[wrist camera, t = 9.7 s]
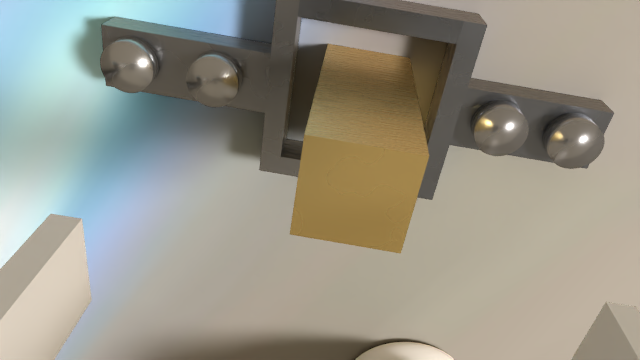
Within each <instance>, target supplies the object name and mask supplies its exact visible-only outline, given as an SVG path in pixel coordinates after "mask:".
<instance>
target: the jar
mask: <svg viewBox="0 0 640 360" xmlns="http://www.w3.org/2000/svg"><path fill="white" fill-rule="evenodd" d="M355 360H454V359H453V358H452V357H451V356H450V355H448V354H447V353H445V352H444V351H442V350H440V349H438V348H435V347H433V346H430V345H426V344H421V343H415V342H394V343H388V344H383V345H380V346H377V347H374V348H372V349H370V350H368V351H366V352H364V353H363V354H361V355H360V356H359V357H357V358H356V359H355Z"/></svg>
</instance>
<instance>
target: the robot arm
mask: <svg viewBox="0 0 640 360" xmlns="http://www.w3.org/2000/svg"><path fill="white" fill-rule="evenodd" d="M90 302H91V292H90V283H89V275H88V266H87V258H86V249H85V241H84V232H83V224H82V219H80V218H74V217H68V216H61V215H55V214H50V215H49V216H48V217H47V218H46V220H45V221H44V222H43V223H42V224H41V225H40V226H39V227H38V228H37V229H36V231H35V232H34V233H33V234H32V235H31V236H30V237H29V238H28V239H27V240H26V242H25V243H24V244H23V245H22V246H21V247H20V248H19V249H18V250H17V252H16V253H15V254H14V255H13V256H12V257H11V258H10V259H9V260H8V261H7V263H6V264H5V265H4V266H3V267H2V268H1V269H0V360H54V359H55V357H56V356H57V354H58V353H59V351H60V349H61V348H62V346H63V345H64V343H65V341H66V340H67V338H68V337H69V335H70V334H71V332H72V330H73V329H74V327H75V326H76V324H77V322H78V321H79V319H80V318H81V316H82V314H83V313H84V311H85V310H86V308H87V306H88V305H89V303H90ZM571 360H640V312H639V310H638V309H637V307H635V306H629V305H623V304H616V303H610V302H606V303H605V304H604V306H603V308H602V309H601V311H600V313H599V314H598V316H597V318H596V319H595V321H594V323H593V324H592V326H591V328H590V329H589V331H588V333H587V334H586V336H585V338H584V339H583V341H582V343H581V344H580V346H579V348H578V349H577V351H576V353H575V354H574V356H573V358H572V359H571Z"/></svg>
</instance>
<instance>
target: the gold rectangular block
mask: <svg viewBox="0 0 640 360" xmlns="http://www.w3.org/2000/svg"><path fill="white" fill-rule="evenodd" d="M428 159H429V152H428V147H427V142H426V137H425V132H424V127H423V122H422V117H421V112H420V107H419V102H418V97H417V92H416V87H415V82H414V77H413V72H412V67H411V62H410V58H408V57H402V56H396V55H390V54H384V53H379V52H373V51H367V50H361V49H355V48H350V47H344V46H338V45H332V44H328V46H327V49H326V53H325V57H324V61H323V65H322V69H321V72H320V76H319V80H318V84H317V88H316V92H315V95H314V99H313V103H312V107H311V111H310V115H309V119H308V122H307V126H306V130H305V134H304V140H303V147H302V154H301V161H300V168H299V175H298V182H297V188H296V195H295V202H294V209H293V216H292V223H291V230H290V234H291V235H297V236H303V237H309V238H314V239H320V240H326V241H332V242H338V243H344V244H349V245H355V246H361V247H367V248H373V249H378V250H384V251H390V252H396V253H401V250H402V247H403V243H404V240H405V237H406V233H407V230H408V226H409V223H410V220H411V216H412V213H413V210H414V206H415V203H416V199H417V196H418V193H419V189H420V186H421V182H422V179H423V176H424V172H425V169H426V166H427V162H428Z"/></svg>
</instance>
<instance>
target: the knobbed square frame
mask: <svg viewBox="0 0 640 360" xmlns="http://www.w3.org/2000/svg"><path fill="white" fill-rule="evenodd" d="M301 18H308V19H314V20H320V21H325V22H331V23H337V24H343V25H349V26H354V27H360V28H366V29H372V30H378V31H383V32H389V33H395V34H401V35H407V36H412V37H418V38H424V39H430V40H436V41H441V42H447V43H448V45H447V48H446V52H445V56H444V59H443V63H442V66H441V70H440V73H439V77H438V80H437V84H436V88H435V91H434V95H433V98H432V102H431V105H430V109H429V112H428V116H427V120H426V123H425V127H424V132H425V137H426V142H427V147H428V152H429V159H428V162H427V166H426V169H425V172H424V176H423V179H422V182H421V186H420V189H419V193H418V196H417V197H418V198H424V199H429V200H432V198H433V195H434V192H435V189H436V186H437V183H438V179H439V176H440V173H441V170H442V167H443V164H444V160H445V157H446V154H447V151H448V148H449V145H454V146H460V147H465V148H471V149H477V150H482V151H483V152H484V153H486V154H489V155H493V156H503V155H512V156H518V157H523V158H529V159H535V160H541V161H547V162H552V163H555V164H557V165H558V166H560V167H563V168H569V169H573V168H579V167H581V168H588V166H589V164H590V163H591V162H592V161H594V160H595V159H596V158H597V157H598V156H599V154H600V153H601V151H602V149H603V146H604V133H605V131H606V129H607V127H608V125H609V123H610V121H611V119H612V117H613V114H614V112H613V111H612V110H611V109H610V108H609V107H608V106H607V105H606V104H605V103H604V102H603V101H601V100H595V99H590V98H584V97H578V96H572V95H566V94H561V93H555V92H549V91H543V90H537V89H532V88H526V87H520V86H514V85H508V84H503V83H497V82H491V81H485V80H479V79H474V78H471V75H472V72H473V69H474V66H475V62H476V59H477V56H478V53H479V50H480V47H481V43H482V40H483V37H484V34H485V31H486V28H487V24H486V23H485V21H484V20H483V19H482V17H481V16H480V15H479V14H477V13H471V12H465V11H460V10H454V9H448V8H442V7H436V6H431V5H425V4H419V3H413V2H407V1H402V0H276V6H275V17H274V27H273V37H272V44H271V43H265V42H259V41H253V40H247V39H242V38H236V37H230V36H224V35H218V34H213V33H207V32H201V31H195V30H189V29H184V28H178V27H172V26H166V25H160V24H155V23H149V22H143V21H137V20H131V19H126V18H120V17H114V18H112V19H110V20H108V21H107V22H105V23H103V24H101V28H102V41H103V52H102V55H101V59H100V65H101V70H102V72H103V74H104V76H105V80H106V86H111V87H115V88H117V89H119V90H121V91H123V92H127V93H136V92H146V93H152V94H158V95H164V96H169V97H175V98H181V99H187V100H193V101H198V102H200V103H201V104H203V105H206V106H209V107H222V106H227V107H233V108H239V109H245V110H251V111H256V112H262V113H265V118H264V128H263V139H262V149H261V159H260V169H259V170H261V171H267V172H273V173H279V174H284V175H290V176H296V177H298V175H299V168H300V161H301V154H302V147H303V142H301V141H295V140H289V139H286V138H287V130H288V122H289V114H290V106H291V98H292V90H293V82H294V74H295V66H296V58H297V50H298V42H299V34H300V26H301Z"/></svg>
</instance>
